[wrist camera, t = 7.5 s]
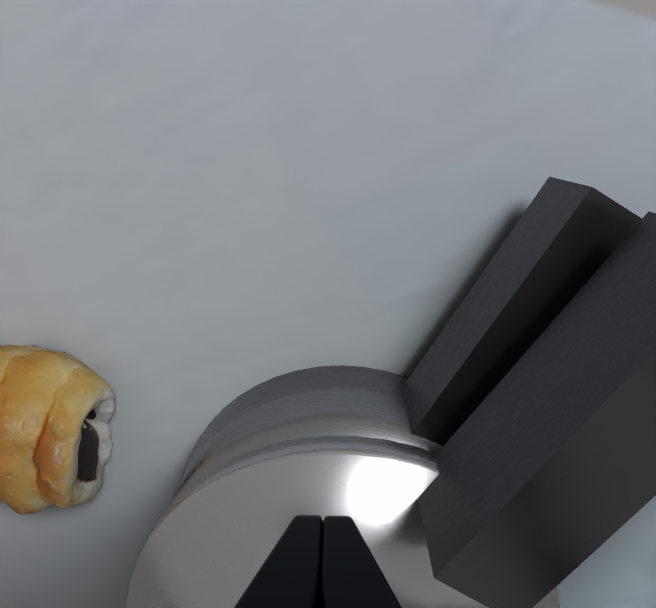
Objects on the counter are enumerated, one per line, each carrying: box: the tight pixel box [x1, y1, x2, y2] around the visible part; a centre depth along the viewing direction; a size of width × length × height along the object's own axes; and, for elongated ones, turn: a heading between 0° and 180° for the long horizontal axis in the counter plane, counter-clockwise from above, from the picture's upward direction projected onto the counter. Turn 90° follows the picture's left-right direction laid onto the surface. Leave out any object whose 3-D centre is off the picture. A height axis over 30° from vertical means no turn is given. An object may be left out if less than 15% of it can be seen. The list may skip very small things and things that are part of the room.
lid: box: [126, 212, 656, 608], centre depth 15 cm, size 14×23×4 cm, turn 147°
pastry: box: [0, 345, 115, 514], centre depth 20 cm, size 9×7×4 cm
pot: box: [170, 177, 642, 504], centre depth 20 cm, size 14×26×5 cm, turn 150°
